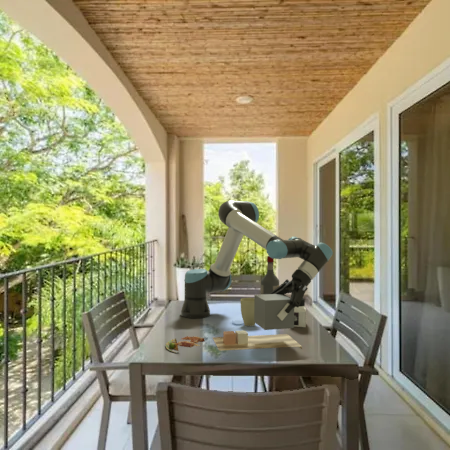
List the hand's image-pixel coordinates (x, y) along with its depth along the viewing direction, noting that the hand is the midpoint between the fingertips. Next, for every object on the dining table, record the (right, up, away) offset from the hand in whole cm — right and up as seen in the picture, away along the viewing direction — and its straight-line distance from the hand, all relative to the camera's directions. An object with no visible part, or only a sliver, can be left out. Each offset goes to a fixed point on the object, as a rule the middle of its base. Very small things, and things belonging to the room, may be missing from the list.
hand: (271, 314), depth 149 cm
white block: (-12, -11, -1) cm, 16 cm away
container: (+16, -13, +31) cm, 38 cm away
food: (-32, -13, -2) cm, 35 cm away
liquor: (+7, -12, +61) cm, 63 cm away
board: (-6, -12, 0) cm, 14 cm away
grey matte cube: (+1, -4, +1) cm, 4 cm away
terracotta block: (-16, -11, -2) cm, 20 cm away
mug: (-7, -12, +31) cm, 34 cm away
